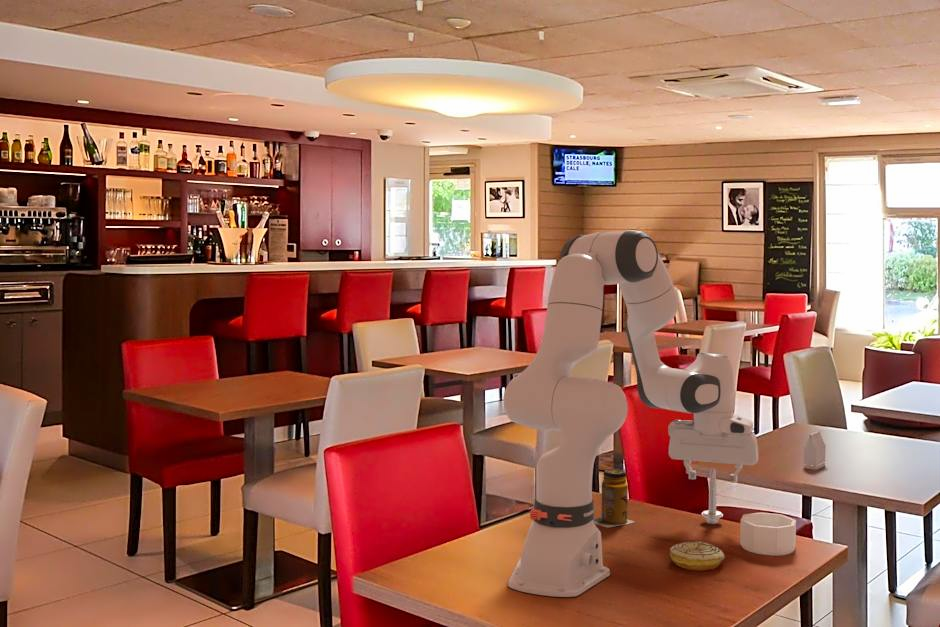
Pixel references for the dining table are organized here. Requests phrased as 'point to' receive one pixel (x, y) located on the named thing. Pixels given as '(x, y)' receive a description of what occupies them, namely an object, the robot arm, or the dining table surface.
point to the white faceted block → (814, 452)
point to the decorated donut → (696, 556)
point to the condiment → (614, 499)
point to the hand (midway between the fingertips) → (712, 480)
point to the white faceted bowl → (768, 534)
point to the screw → (712, 501)
